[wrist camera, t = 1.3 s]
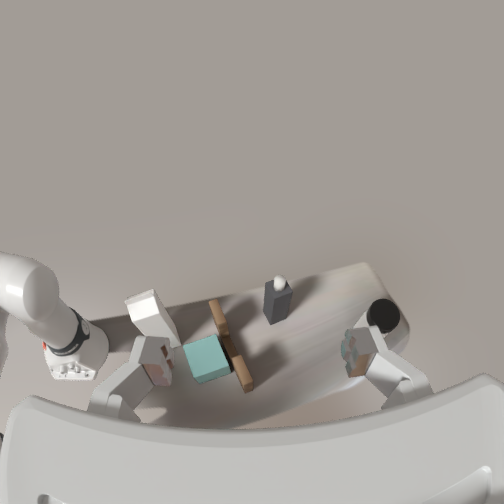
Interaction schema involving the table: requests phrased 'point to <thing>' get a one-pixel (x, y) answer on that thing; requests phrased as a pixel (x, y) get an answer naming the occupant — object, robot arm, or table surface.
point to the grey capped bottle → (277, 299)
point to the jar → (380, 316)
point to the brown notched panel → (231, 347)
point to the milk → (152, 316)
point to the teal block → (206, 359)
